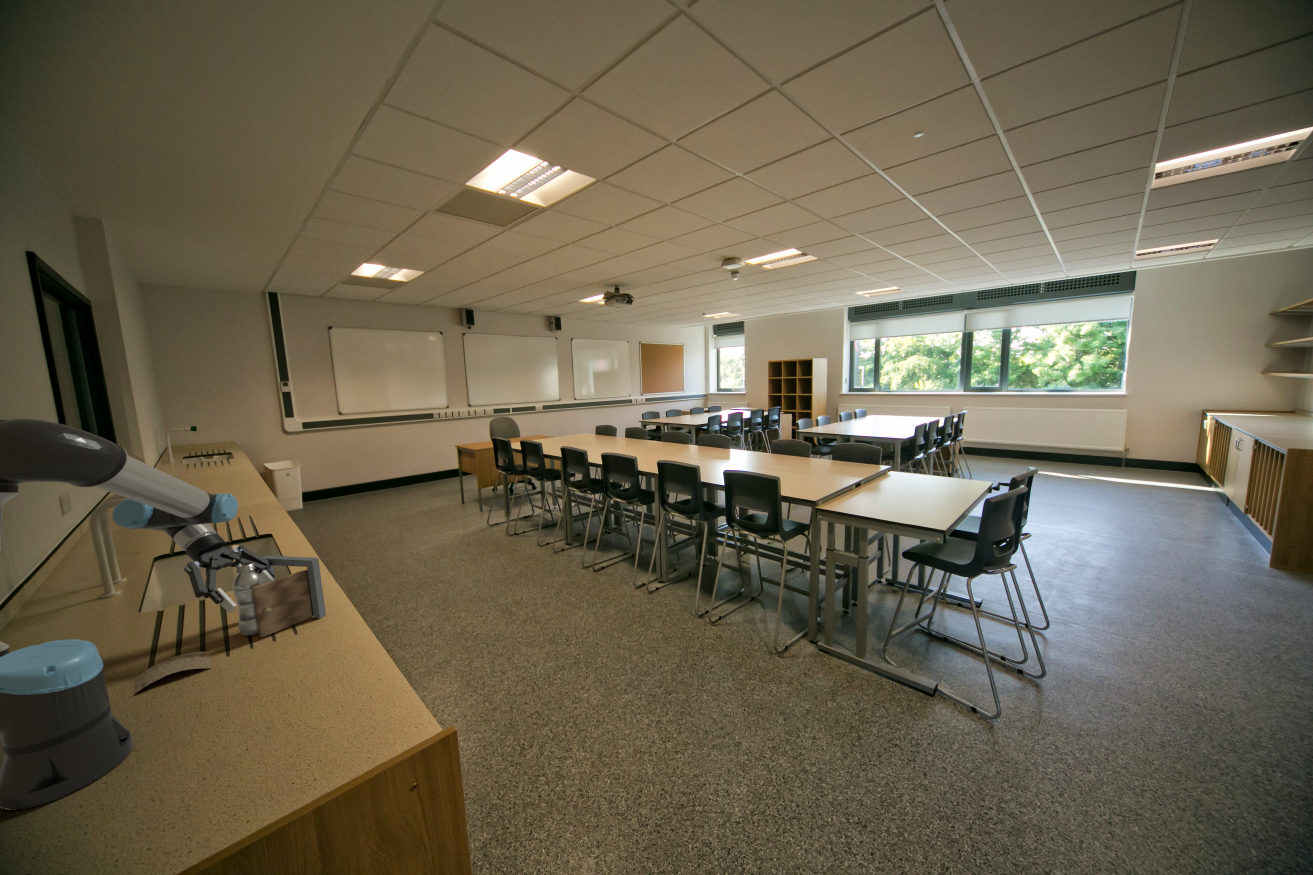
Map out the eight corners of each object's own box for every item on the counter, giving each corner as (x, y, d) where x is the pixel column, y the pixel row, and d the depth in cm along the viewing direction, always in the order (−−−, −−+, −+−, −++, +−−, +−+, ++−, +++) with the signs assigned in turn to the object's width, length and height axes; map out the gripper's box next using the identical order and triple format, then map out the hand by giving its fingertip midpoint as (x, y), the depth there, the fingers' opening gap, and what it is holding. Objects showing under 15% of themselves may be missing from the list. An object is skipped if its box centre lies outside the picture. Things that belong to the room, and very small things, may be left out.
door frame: (320, 618, 133) (312, 560, 130) (268, 615, 136) (259, 558, 133) (326, 615, 135) (318, 557, 132) (274, 611, 138) (266, 555, 135)
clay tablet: (129, 700, 101) (127, 689, 101) (130, 681, 108) (128, 670, 107) (218, 668, 112) (216, 658, 111) (214, 652, 118) (212, 643, 118)
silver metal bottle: (259, 637, 124) (248, 568, 121) (233, 639, 123) (221, 569, 120) (277, 625, 130) (267, 558, 127) (252, 626, 130) (241, 560, 127)
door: (313, 613, 135) (307, 568, 133) (318, 615, 133) (312, 570, 132) (259, 636, 123) (251, 587, 121) (263, 638, 122) (256, 589, 120)
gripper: (240, 537, 137) (290, 588, 136) (140, 568, 114) (200, 630, 113) (252, 520, 135) (303, 572, 134) (154, 548, 112) (214, 611, 111)
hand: (256, 598), depth 124 cm, fingers open, 11 cm apart
